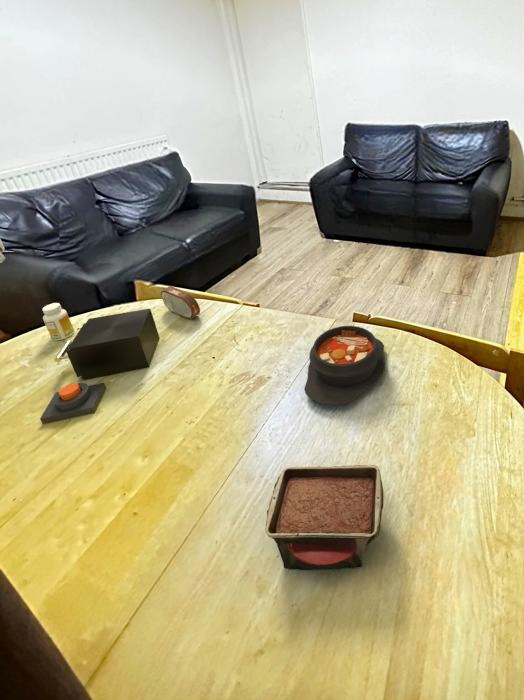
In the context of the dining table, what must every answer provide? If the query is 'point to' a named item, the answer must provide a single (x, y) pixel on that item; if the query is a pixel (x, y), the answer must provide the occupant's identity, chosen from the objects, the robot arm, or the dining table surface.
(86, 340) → the black rectangular box
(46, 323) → the supplement bottle
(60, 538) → the dining table surface
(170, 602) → the dining table surface
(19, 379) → the dining table surface
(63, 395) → the button
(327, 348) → the casserole
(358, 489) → the baking dish
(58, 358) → the drawer
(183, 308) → the tin
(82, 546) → the dining table surface
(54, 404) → the panel
